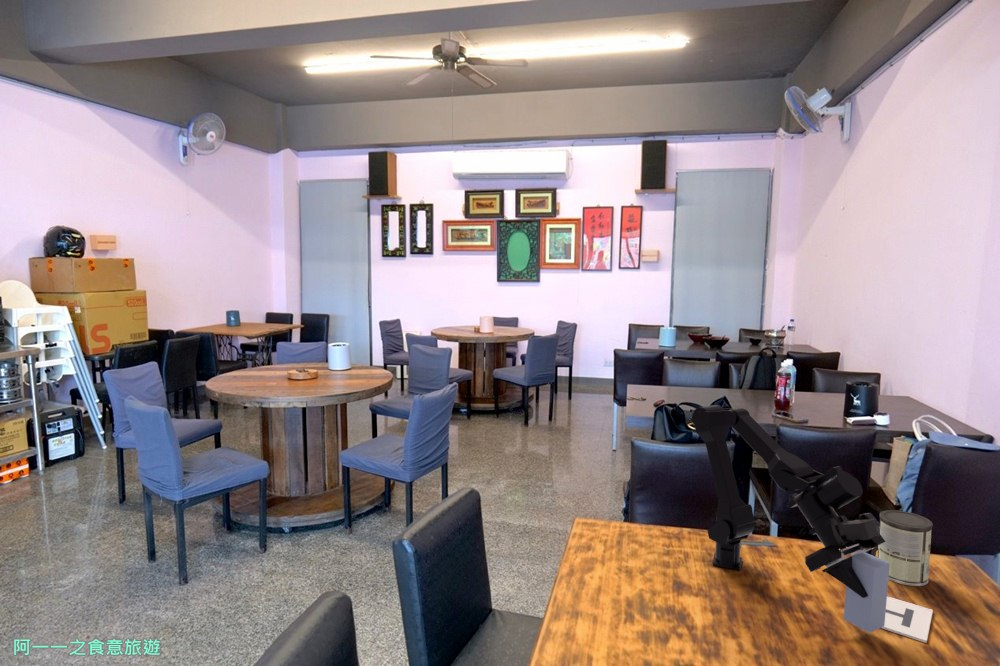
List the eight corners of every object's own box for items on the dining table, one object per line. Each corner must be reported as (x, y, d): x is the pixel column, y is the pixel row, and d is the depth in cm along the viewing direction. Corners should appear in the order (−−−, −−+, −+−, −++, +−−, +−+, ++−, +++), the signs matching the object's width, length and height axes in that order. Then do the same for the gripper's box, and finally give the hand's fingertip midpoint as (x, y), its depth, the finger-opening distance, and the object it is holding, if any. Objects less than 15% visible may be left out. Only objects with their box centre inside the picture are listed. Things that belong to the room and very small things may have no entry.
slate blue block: (843, 619, 115) (848, 556, 114) (858, 612, 117) (863, 551, 116) (869, 633, 111) (874, 568, 109) (884, 626, 113) (889, 562, 112)
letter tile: (843, 615, 121) (843, 613, 121) (856, 589, 131) (856, 586, 131) (926, 643, 112) (926, 640, 111) (932, 612, 122) (932, 609, 122)
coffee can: (870, 562, 144) (874, 507, 143) (919, 568, 141) (923, 513, 139) (883, 582, 134) (887, 523, 133) (935, 590, 131) (940, 530, 130)
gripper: (823, 509, 111) (879, 591, 102) (878, 493, 120) (934, 567, 111) (783, 532, 119) (832, 611, 110) (838, 516, 127) (888, 587, 119)
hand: (873, 593), depth 112 cm, fingers closed on slate blue block, 5 cm apart
